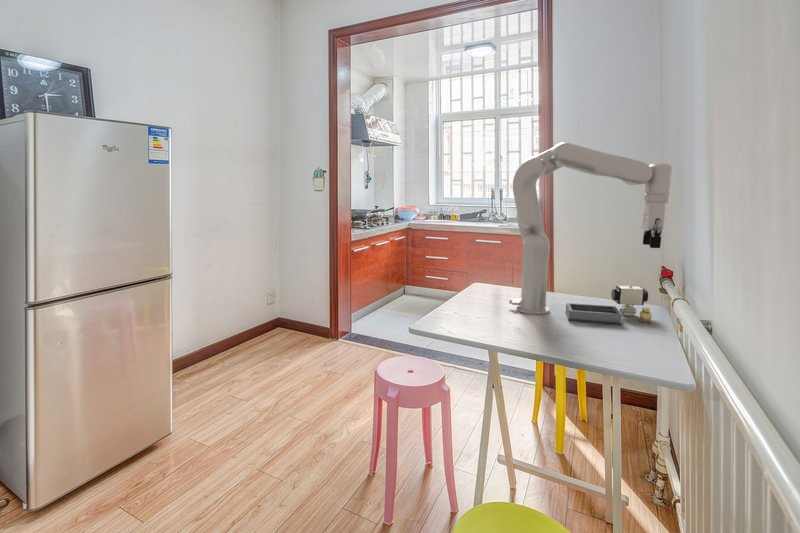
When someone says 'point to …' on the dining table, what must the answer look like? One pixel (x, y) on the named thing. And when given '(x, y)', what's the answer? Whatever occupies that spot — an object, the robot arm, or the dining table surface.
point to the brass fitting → (645, 315)
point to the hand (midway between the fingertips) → (651, 246)
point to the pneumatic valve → (629, 298)
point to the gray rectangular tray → (593, 314)
